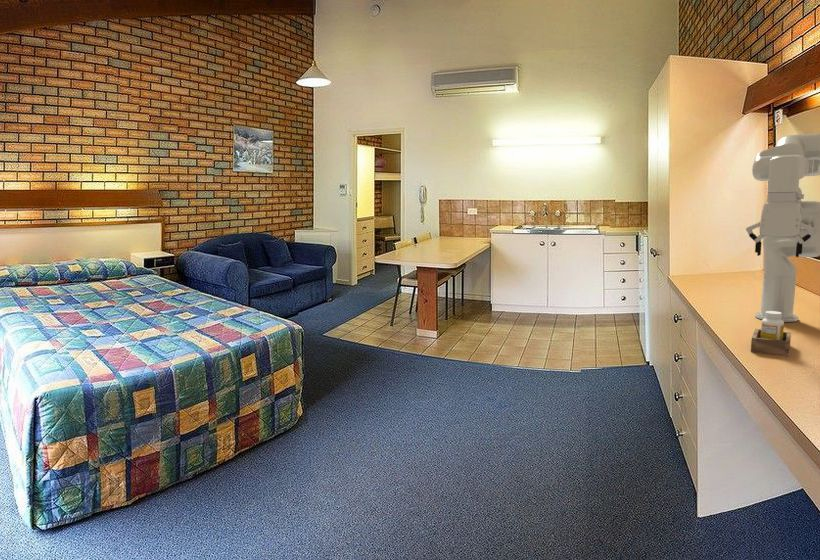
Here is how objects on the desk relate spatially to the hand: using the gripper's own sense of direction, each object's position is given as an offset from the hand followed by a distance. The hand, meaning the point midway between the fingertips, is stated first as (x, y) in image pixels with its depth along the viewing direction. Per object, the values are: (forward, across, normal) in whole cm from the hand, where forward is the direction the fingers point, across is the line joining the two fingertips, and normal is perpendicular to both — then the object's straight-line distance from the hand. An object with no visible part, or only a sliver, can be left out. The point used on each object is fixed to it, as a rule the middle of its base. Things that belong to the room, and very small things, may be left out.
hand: (777, 255), depth 167 cm
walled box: (+25, 0, +14) cm, 29 cm away
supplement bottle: (+24, 0, +13) cm, 28 cm away
